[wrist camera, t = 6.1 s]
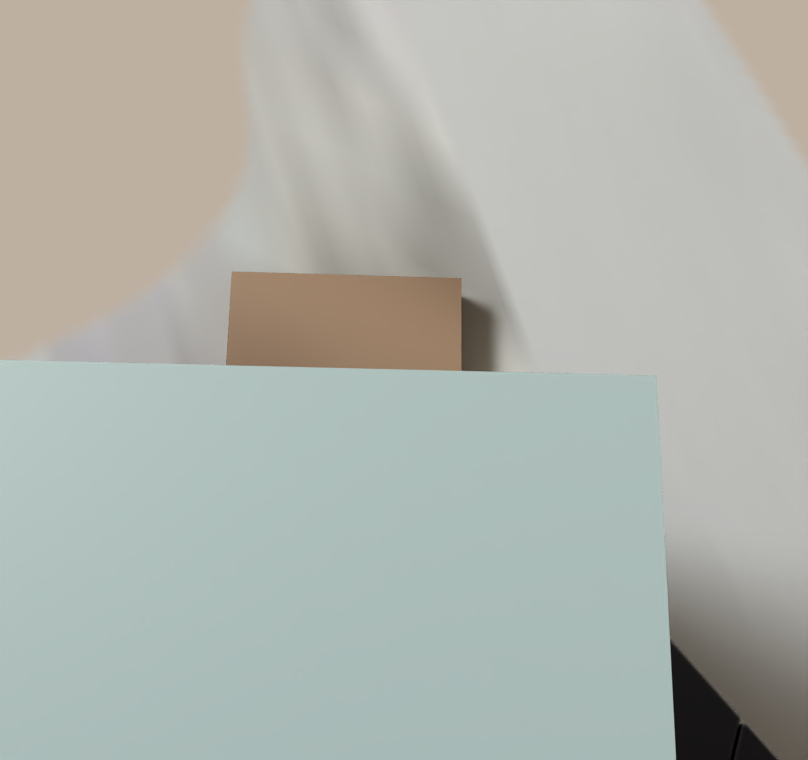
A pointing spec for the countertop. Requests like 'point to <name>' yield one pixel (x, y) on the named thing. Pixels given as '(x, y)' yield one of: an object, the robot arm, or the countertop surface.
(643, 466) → the block
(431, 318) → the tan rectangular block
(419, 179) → the countertop surface
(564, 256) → the countertop surface
